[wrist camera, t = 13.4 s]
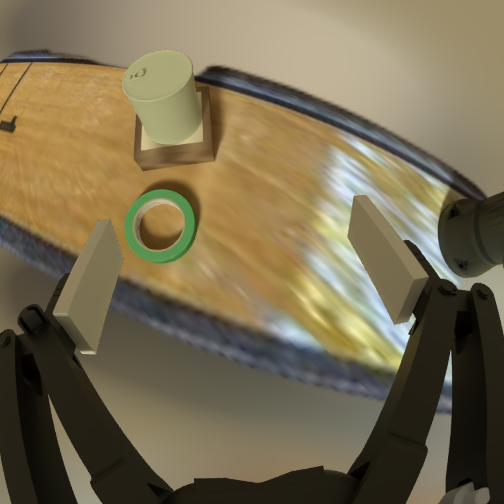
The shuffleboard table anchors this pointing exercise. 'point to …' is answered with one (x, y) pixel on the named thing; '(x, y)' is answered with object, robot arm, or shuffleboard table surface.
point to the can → (164, 95)
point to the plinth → (180, 153)
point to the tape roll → (142, 207)
